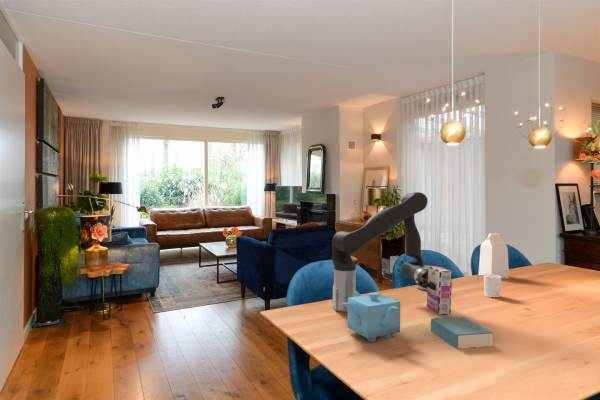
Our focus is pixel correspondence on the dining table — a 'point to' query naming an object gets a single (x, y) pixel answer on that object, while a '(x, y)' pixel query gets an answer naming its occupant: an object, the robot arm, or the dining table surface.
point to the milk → (494, 256)
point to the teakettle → (373, 315)
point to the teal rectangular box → (461, 332)
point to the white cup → (492, 285)
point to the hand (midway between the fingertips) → (442, 287)
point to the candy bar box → (439, 290)
